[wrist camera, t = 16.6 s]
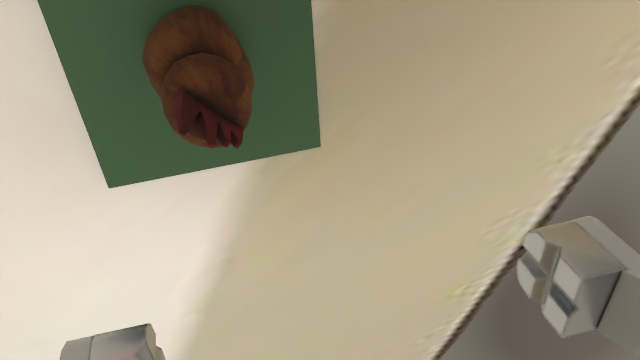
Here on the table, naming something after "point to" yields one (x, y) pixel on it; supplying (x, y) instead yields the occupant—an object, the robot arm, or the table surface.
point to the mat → (146, 106)
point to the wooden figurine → (200, 77)
